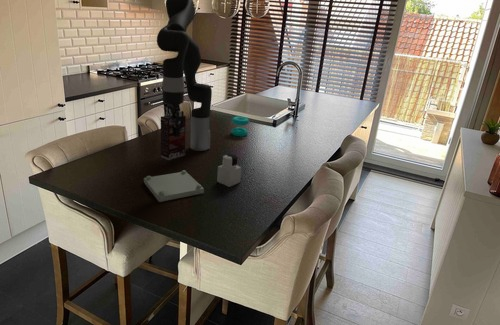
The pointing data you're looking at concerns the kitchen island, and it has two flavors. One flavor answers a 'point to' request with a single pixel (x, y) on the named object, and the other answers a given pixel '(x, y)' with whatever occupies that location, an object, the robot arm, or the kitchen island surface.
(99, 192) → the kitchen island surface
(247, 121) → the donuts
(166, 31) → the robot arm
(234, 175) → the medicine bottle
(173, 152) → the supplement box
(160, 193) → the stud plate
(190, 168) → the kitchen island surface
